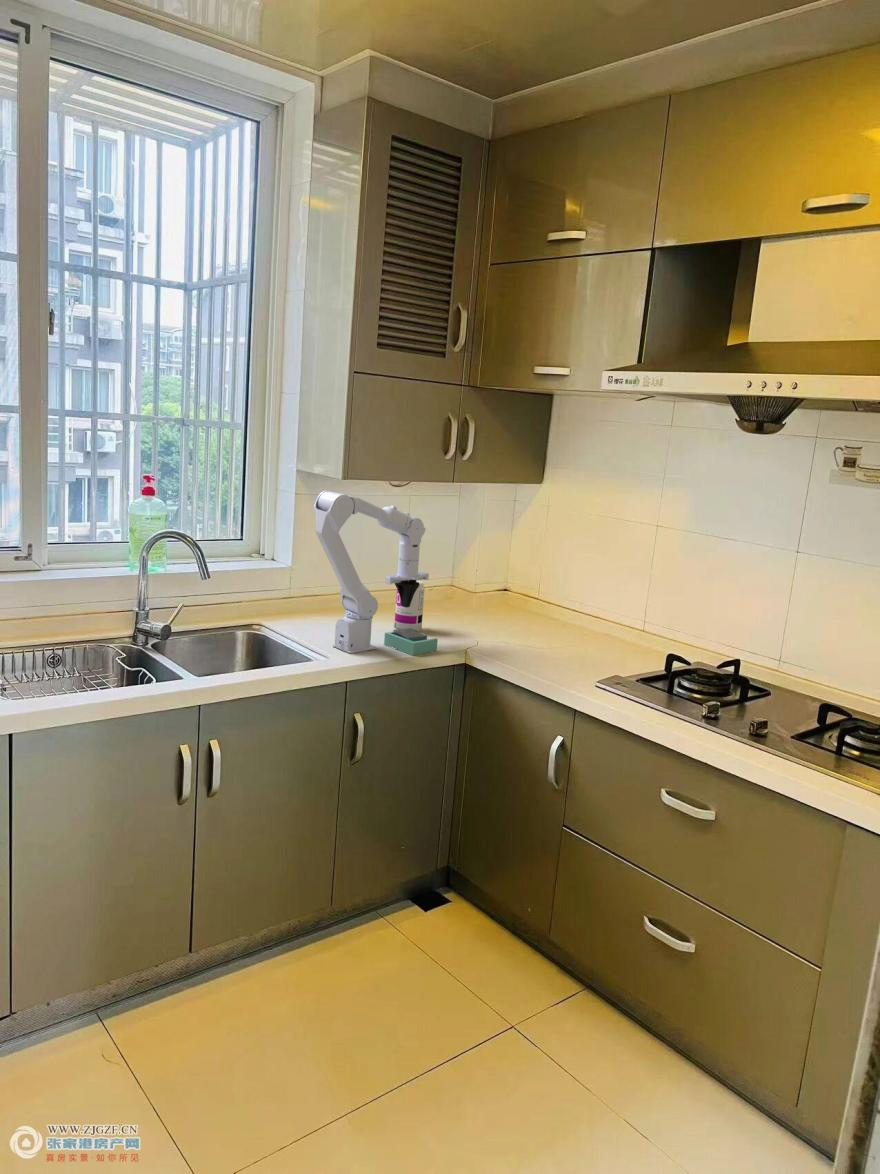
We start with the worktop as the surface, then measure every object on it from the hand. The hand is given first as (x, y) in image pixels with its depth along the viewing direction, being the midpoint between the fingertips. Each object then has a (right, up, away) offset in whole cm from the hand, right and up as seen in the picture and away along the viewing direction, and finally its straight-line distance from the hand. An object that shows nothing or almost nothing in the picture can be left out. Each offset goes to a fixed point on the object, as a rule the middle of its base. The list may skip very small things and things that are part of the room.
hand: (405, 606), depth 248 cm
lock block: (+1, -12, -3) cm, 12 cm away
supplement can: (0, -8, +15) cm, 17 cm away
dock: (+1, -11, -3) cm, 12 cm away
